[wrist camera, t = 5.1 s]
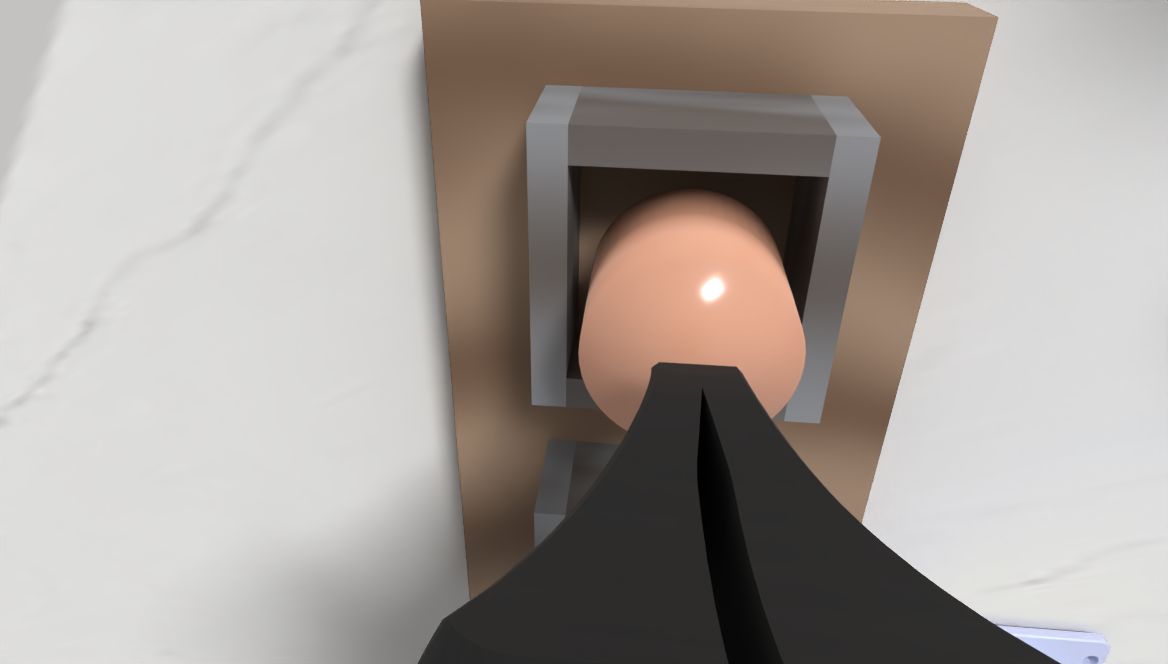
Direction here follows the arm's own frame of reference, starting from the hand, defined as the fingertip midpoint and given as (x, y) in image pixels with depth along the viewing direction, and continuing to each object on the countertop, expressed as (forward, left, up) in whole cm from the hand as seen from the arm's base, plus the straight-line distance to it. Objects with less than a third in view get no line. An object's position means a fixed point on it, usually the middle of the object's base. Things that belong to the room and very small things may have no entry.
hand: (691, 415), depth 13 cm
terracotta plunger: (0, 0, -5) cm, 5 cm away
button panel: (-5, 0, -9) cm, 11 cm away
